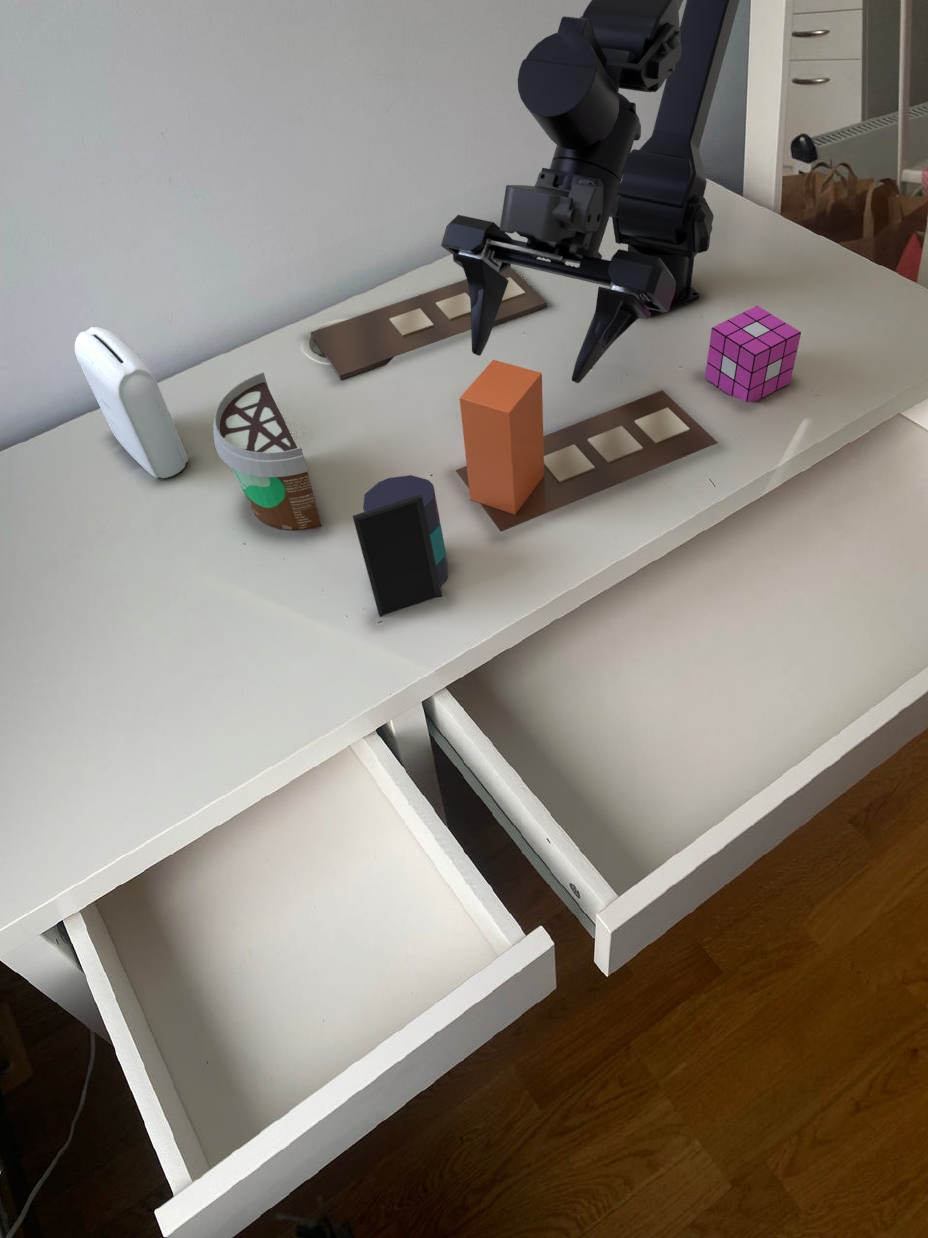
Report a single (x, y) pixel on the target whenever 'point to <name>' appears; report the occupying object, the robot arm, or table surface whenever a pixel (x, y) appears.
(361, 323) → the word board
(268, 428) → the food container
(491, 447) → the tall orange brick
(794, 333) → the puzzle toy
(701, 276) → the table surface
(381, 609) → the speaker
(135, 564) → the table surface
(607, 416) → the word board
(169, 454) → the photo printer
